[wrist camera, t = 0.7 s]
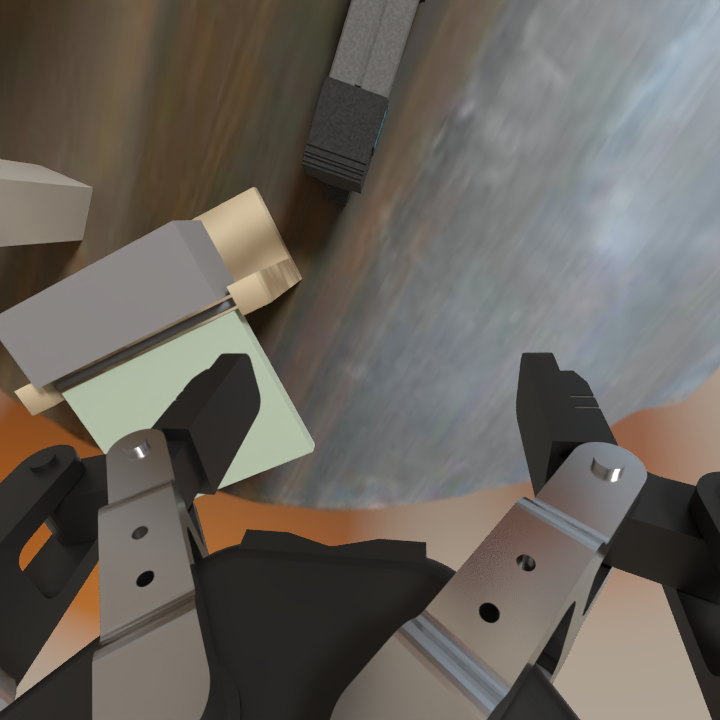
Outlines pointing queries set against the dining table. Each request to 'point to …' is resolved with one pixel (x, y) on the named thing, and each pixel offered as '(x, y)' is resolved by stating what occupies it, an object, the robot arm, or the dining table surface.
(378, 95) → the gun
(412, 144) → the dining table surface
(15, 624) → the robot arm
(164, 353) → the trapdoor
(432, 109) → the dining table surface
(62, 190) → the grey rectangular block
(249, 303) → the frame
